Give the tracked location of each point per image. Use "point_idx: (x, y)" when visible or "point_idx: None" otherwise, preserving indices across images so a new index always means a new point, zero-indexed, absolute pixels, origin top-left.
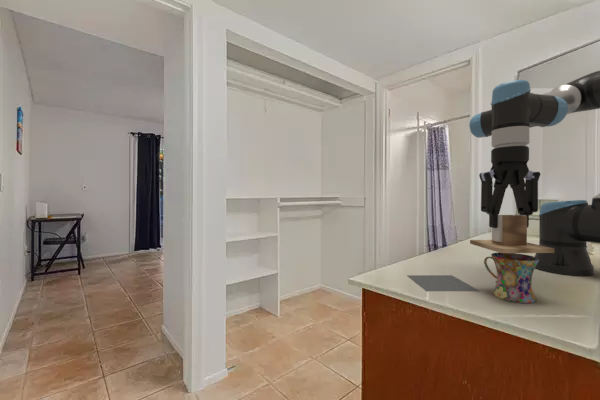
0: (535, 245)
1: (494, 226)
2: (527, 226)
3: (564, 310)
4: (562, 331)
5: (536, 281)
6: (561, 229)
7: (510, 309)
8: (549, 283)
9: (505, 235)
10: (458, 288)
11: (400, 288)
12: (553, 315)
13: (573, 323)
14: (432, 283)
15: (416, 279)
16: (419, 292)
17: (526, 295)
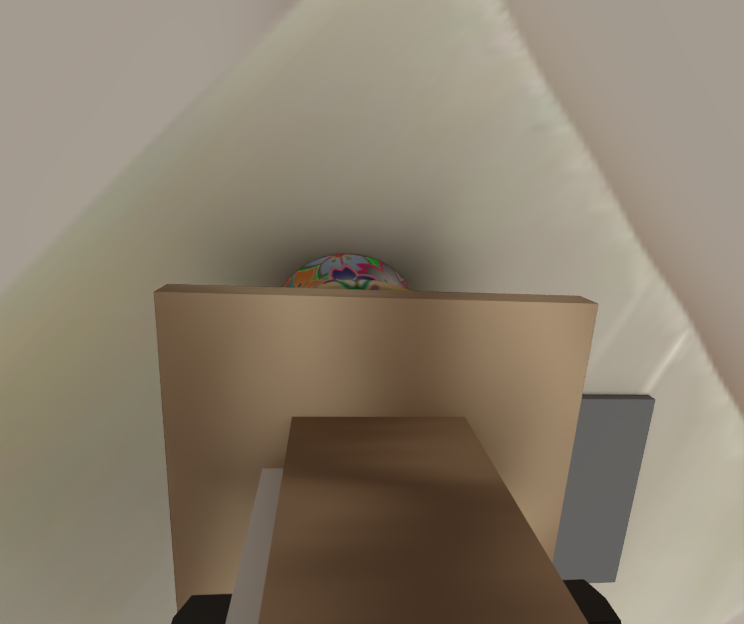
0: (210, 422)
1: (585, 592)
2: (191, 608)
3: (228, 203)
4: (411, 14)
5: (63, 535)
6: None
7: (441, 224)
8: (20, 510)
9: (491, 470)
10: None
11: (711, 449)
12: (318, 157)
13: (305, 79)
14: (572, 485)
15: (605, 533)
16: (666, 406)
17: (346, 267)
